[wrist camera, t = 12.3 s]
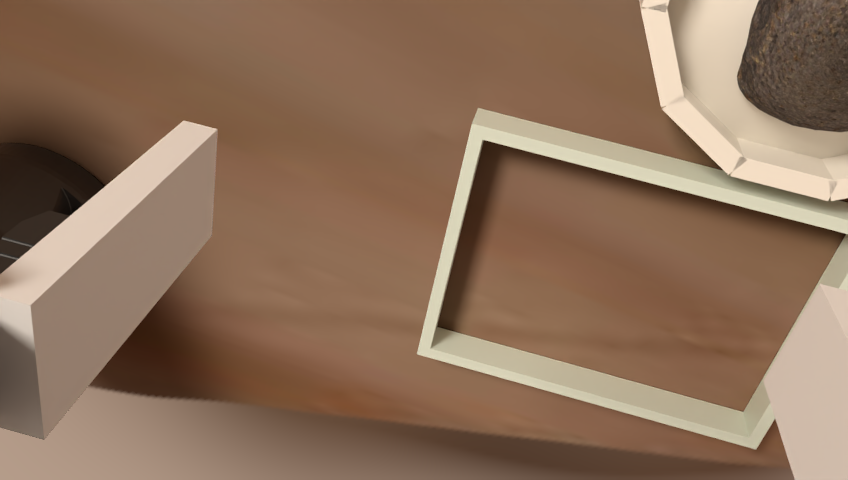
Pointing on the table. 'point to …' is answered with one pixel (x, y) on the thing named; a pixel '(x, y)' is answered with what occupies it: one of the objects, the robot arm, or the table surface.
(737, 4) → the bowl
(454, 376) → the table surface
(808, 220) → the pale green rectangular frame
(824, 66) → the stone
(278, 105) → the table surface
